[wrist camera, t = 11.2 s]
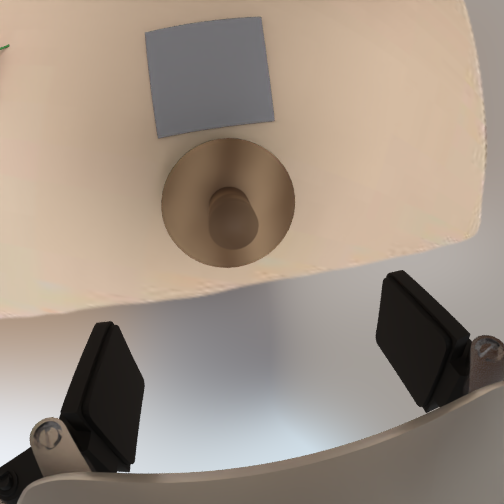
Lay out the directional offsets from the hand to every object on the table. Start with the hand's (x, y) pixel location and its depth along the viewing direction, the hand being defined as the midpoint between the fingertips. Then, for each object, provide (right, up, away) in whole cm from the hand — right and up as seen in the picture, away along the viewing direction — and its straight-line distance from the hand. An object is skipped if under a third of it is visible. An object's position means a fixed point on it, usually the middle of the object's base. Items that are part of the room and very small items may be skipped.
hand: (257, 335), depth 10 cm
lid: (-2, +7, +18) cm, 19 cm away
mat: (-5, +21, +17) cm, 27 cm away
